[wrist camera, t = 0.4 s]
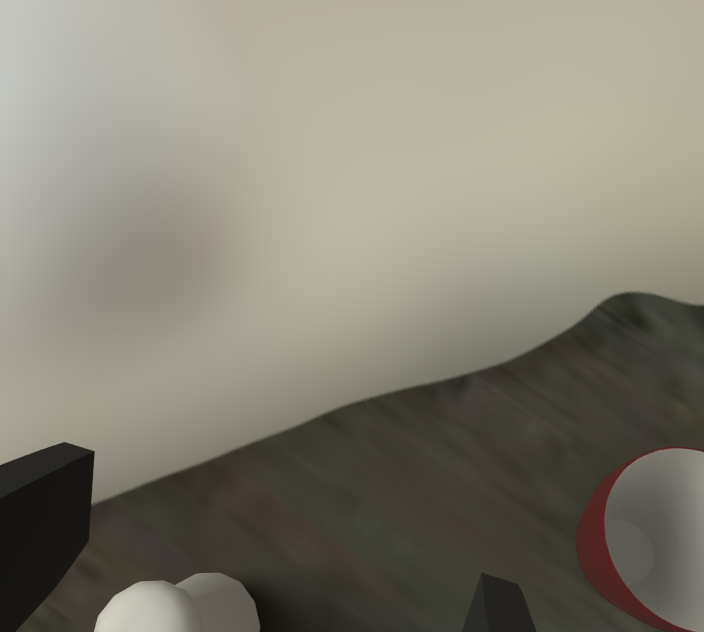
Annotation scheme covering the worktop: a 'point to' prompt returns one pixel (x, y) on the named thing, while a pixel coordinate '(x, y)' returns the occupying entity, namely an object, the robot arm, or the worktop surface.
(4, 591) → the robot arm
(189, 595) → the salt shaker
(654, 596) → the mug
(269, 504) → the worktop surface
